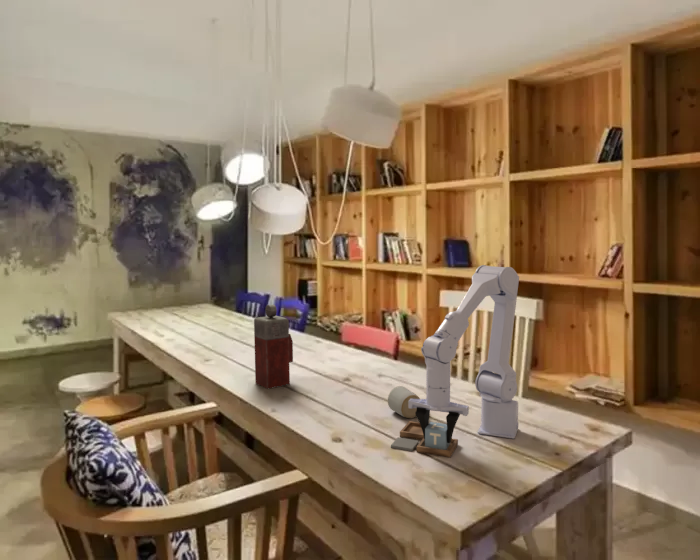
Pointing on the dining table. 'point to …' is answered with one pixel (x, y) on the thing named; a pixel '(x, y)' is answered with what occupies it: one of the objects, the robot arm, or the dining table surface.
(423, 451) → the tray
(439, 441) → the letter cube
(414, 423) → the tray
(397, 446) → the slate tile
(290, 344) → the dark red bottle
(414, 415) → the ceramic mug
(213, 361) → the dining table surface
